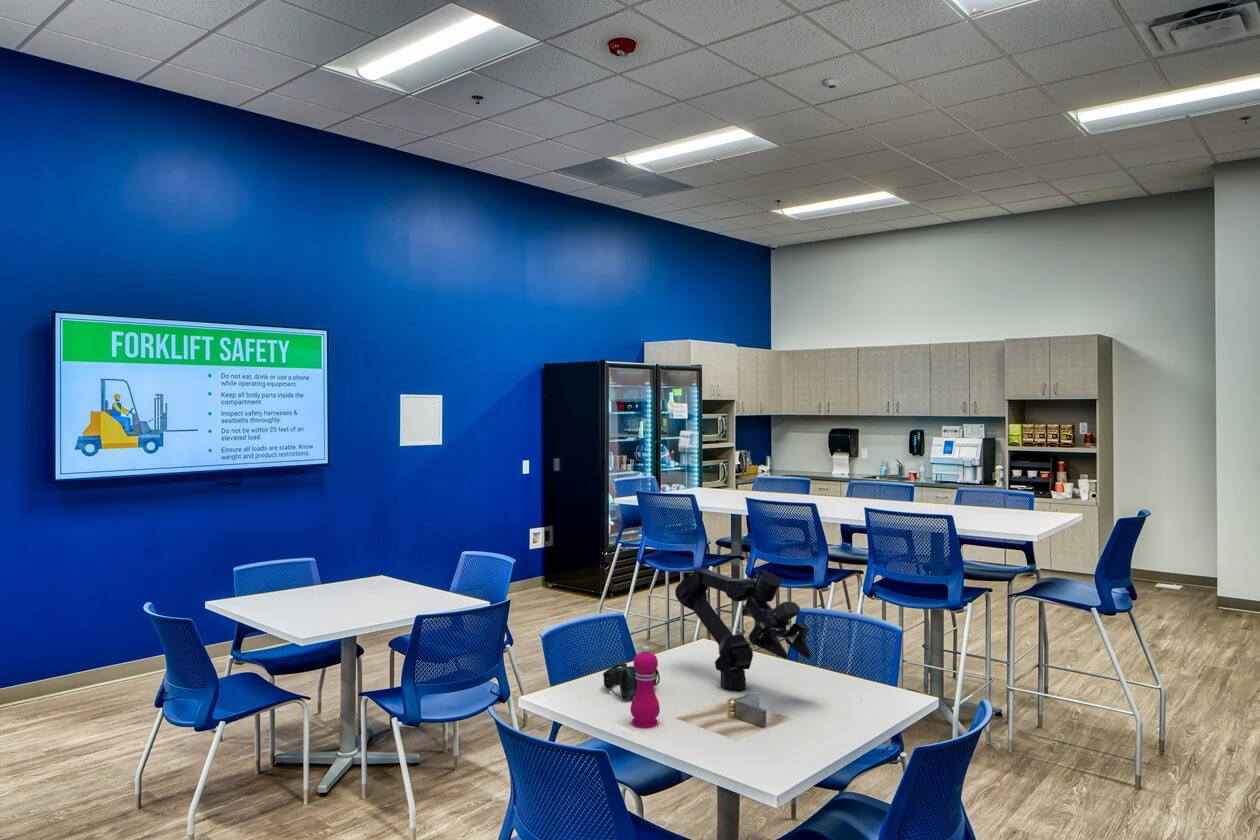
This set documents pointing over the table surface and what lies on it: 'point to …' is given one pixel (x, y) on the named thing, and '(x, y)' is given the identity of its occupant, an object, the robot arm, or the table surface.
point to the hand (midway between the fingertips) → (798, 657)
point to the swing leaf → (749, 713)
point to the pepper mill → (645, 691)
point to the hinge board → (729, 721)
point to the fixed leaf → (746, 699)
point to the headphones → (624, 679)
